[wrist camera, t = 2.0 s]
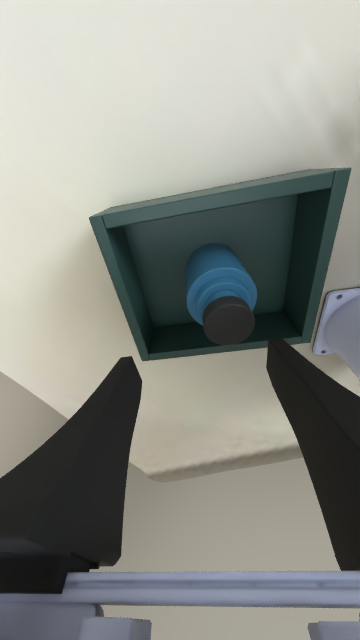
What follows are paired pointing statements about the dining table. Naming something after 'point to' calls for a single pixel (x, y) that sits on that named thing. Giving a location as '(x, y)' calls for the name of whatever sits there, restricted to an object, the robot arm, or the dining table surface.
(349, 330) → the robot arm
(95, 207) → the dining table surface
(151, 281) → the bin
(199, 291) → the bottle
